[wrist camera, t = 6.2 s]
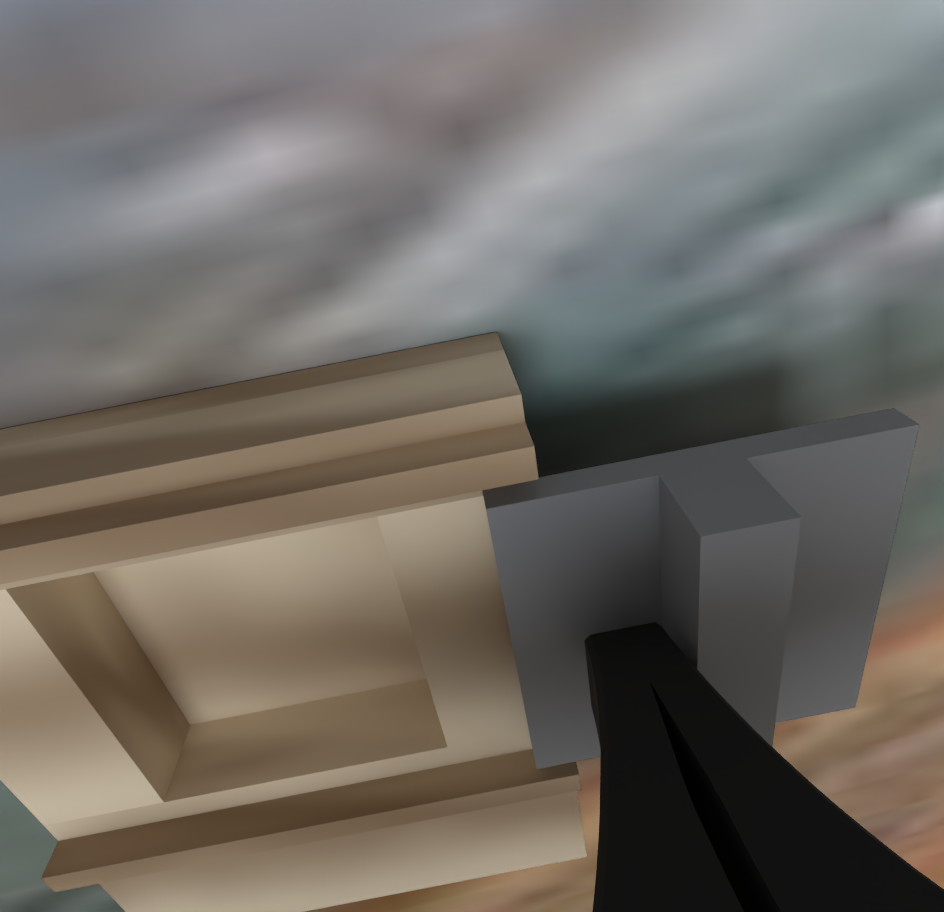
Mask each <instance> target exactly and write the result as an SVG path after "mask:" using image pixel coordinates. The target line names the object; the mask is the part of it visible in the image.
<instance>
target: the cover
mask: <svg viewBox="0 0 944 912" xmlns="http://www.w3.org/2000/svg"><path fill="white" fill-rule="evenodd" d="M918 429H919V424H918V423H916V422H915V421H913V420H912V419H910V418H908V417H907V416H905V415H904V414H902V413H901V412H899V411H897V410H896V409H894V408H892V409H887V410H882V411H877V412H871V413H866V414H861V415H856V416H851V417H846V418H841V419H836V420H830V421H825V422H820V423H815V424H810V425H805V426H800V427H795V428H790V429H784V430H779V431H774V432H769V433H764V434H759V435H754V436H749V437H743V438H738V439H733V440H728V441H723V442H718V443H713V444H708V445H703V446H697V447H692V448H687V449H682V450H677V451H672V452H667V453H662V454H656V455H651V456H646V457H641V458H636V459H631V460H626V461H621V462H616V463H610V464H605V465H600V466H595V467H590V468H585V469H580V470H575V471H569V472H564V473H559V474H554V475H549V476H544V477H539V479H537V480H532V481H527V482H522V483H517V484H512V485H507V486H502V487H497V488H491V489H486V490H482V492H483V497H484V502H485V507H486V512H487V517H488V522H489V528H490V533H491V538H492V543H493V548H494V553H495V559H496V564H497V569H498V574H499V579H500V584H501V589H502V595H503V600H504V605H505V610H506V615H507V620H508V626H509V631H510V636H511V641H512V646H513V651H514V656H515V662H516V667H517V672H518V677H519V682H520V687H521V693H522V698H523V703H524V708H525V713H526V718H527V724H528V729H529V734H530V739H531V744H532V749H533V754H534V759H535V764H536V769H540V768H545V767H550V766H556V765H561V764H566V763H571V762H576V761H581V760H587V759H592V758H597V757H601V751H600V743H599V738H598V733H597V728H596V723H595V719H594V715H593V711H592V707H591V698H590V688H589V679H588V670H587V661H586V652H585V642H584V640H585V639H586V638H587V637H588V636H589V635H591V634H596V633H601V632H606V631H612V630H617V629H622V628H627V627H632V626H637V625H642V624H648V623H653V622H656V623H657V624H659V625H661V626H662V628H663V629H664V630H665V631H666V633H667V634H668V635H669V636H670V638H671V639H672V640H673V641H674V643H675V644H676V645H677V646H678V648H679V649H680V650H681V651H682V652H683V653H684V655H685V656H686V657H687V658H688V659H689V660H690V662H691V663H692V664H693V665H694V666H695V667H696V669H697V670H698V671H699V672H700V673H701V674H702V675H703V676H704V677H705V679H706V680H707V681H708V682H709V683H710V684H711V685H712V686H713V687H714V688H715V690H716V691H717V692H718V693H719V694H720V695H721V696H722V697H723V698H724V699H725V700H726V701H727V702H728V703H729V704H730V705H731V706H732V707H733V708H734V709H735V710H736V711H737V712H738V714H739V715H740V716H741V717H742V718H743V719H744V720H745V721H746V722H747V723H748V724H749V725H750V726H751V727H752V728H753V729H754V730H755V731H756V732H757V733H758V734H759V735H760V736H761V737H762V738H763V739H764V740H765V741H766V742H767V743H768V744H770V745H771V746H772V744H773V736H774V728H775V723H777V722H782V721H788V720H793V719H798V718H803V717H808V716H813V715H819V714H824V713H829V712H834V711H839V710H844V709H849V708H855V706H856V702H857V697H858V693H859V688H860V684H861V680H862V675H863V671H864V666H865V662H866V658H867V653H868V649H869V644H870V640H871V636H872V631H873V627H874V622H875V618H876V614H877V609H878V605H879V600H880V596H881V592H882V587H883V583H884V578H885V574H886V570H887V565H888V561H889V556H890V552H891V548H892V543H893V539H894V534H895V530H896V526H897V521H898V517H899V512H900V508H901V504H902V499H903V495H904V490H905V486H906V482H907V477H908V473H909V468H910V464H911V460H912V455H913V451H914V446H915V442H916V438H917V433H918Z"/></svg>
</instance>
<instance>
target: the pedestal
mask: <svg viewBox="0 0 944 912" xmlns="http://www.w3.org/2000/svg"><path fill="white" fill-rule="evenodd" d="M537 479H539V477H538V470H537V462H536V455H535V448H534V444H533V441H532V439H531V436H530V433H529V431H528V428H527V425H526V423H525V417H524V409H523V402H522V395H521V392H520V390H519V387H518V385H517V382H516V379H515V377H514V374H513V372H512V369H511V367H510V364H509V362H508V359H507V357H506V354H505V352H504V349H503V347H502V344H501V342H500V339H499V336H498V334H497V332H494V333H489V334H484V335H479V336H473V337H468V338H463V339H458V340H453V341H448V342H443V343H438V344H433V345H428V346H422V347H417V348H412V349H407V350H402V351H397V352H392V353H387V354H382V355H377V356H372V357H366V358H361V359H356V360H351V361H346V362H341V363H336V364H331V365H326V366H321V367H315V368H310V369H305V370H300V371H295V372H290V373H285V374H280V375H275V376H270V377H264V378H259V379H254V380H249V381H244V382H239V383H234V384H229V385H224V386H219V387H214V388H208V389H203V390H198V391H193V392H188V393H183V394H178V395H173V396H168V397H163V398H157V399H152V400H147V401H142V402H137V403H132V404H127V405H122V406H117V407H112V408H106V409H101V410H96V411H91V412H86V413H81V414H76V415H71V416H66V417H61V418H55V419H50V420H45V421H40V422H35V423H30V424H25V425H20V426H15V427H10V428H5V429H0V780H1V781H2V782H3V783H4V784H5V785H6V786H7V787H8V788H9V789H10V790H11V791H12V793H13V794H14V795H15V796H16V797H17V798H18V799H19V800H20V801H21V802H22V803H23V804H24V805H25V806H26V807H27V808H28V809H29V810H30V811H31V813H32V814H33V815H34V816H35V817H36V818H37V819H38V820H39V821H40V822H41V823H42V824H43V825H44V826H45V827H46V828H47V829H48V830H49V832H50V833H51V834H52V835H53V836H54V837H55V838H56V839H57V840H58V843H57V845H56V847H55V850H54V852H53V854H52V856H51V858H50V860H49V863H48V865H47V867H46V869H45V871H44V873H43V876H42V878H41V879H42V880H43V881H44V882H45V883H46V884H47V885H48V886H49V887H50V888H51V889H52V890H53V891H54V892H58V891H63V890H68V889H74V888H79V887H84V886H89V885H94V884H100V885H101V886H102V887H103V888H104V890H105V891H106V892H107V893H108V894H109V895H110V896H111V897H112V898H113V899H114V900H115V901H116V902H117V903H118V904H119V905H120V906H121V907H122V909H123V910H124V911H125V912H305V911H310V910H315V909H320V908H325V907H330V906H336V905H341V904H346V903H351V902H356V901H361V900H367V899H372V898H377V897H382V896H387V895H392V894H398V893H403V892H408V891H413V890H418V889H423V888H429V887H434V886H439V885H444V884H449V883H454V882H460V881H465V880H470V879H475V878H480V877H485V876H491V875H496V874H501V873H506V872H511V871H516V870H522V869H527V868H532V867H537V866H542V865H547V864H553V863H558V862H563V861H568V860H573V859H578V858H584V857H587V855H586V848H585V841H584V834H583V827H582V820H581V812H580V805H579V798H578V791H579V790H581V786H580V778H579V773H578V769H577V765H576V762H571V763H566V764H561V765H556V766H550V767H545V768H540V769H536V764H535V759H534V754H533V749H532V744H531V739H530V734H529V729H528V724H527V718H526V713H525V708H524V703H523V698H522V693H521V687H520V682H519V677H518V672H517V667H516V662H515V656H514V651H513V646H512V641H511V636H510V631H509V626H508V620H507V615H506V610H505V605H504V600H503V595H502V589H501V584H500V579H499V574H498V569H497V564H496V559H495V553H494V548H493V543H492V538H491V533H490V528H489V522H488V517H487V512H486V507H485V502H484V497H483V492H482V490H486V489H491V488H497V487H502V486H507V485H512V484H517V483H522V482H527V481H532V480H537Z"/></svg>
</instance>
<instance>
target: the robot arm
mask: <svg viewBox="0 0 944 912" xmlns="http://www.w3.org/2000/svg"><path fill="white" fill-rule="evenodd" d="M584 642H585V652H586V661H587V670H588V679H589V688H590V698H591V707H592V711H593V715H594V719H595V723H596V728H597V733H598V738H599V743H600V751H601V777H600V823H599V842H598V857H597V871H596V884H595V894H594V904H593V912H944V889H942V888H941V887H940V886H938V885H937V884H935V883H934V882H933V881H931V880H930V879H929V878H927V877H926V876H925V875H923V874H922V873H920V872H919V871H918V870H916V869H915V868H914V867H912V866H911V865H910V864H908V863H907V862H906V861H905V860H903V859H902V858H901V857H900V856H898V855H897V854H896V853H894V852H893V851H892V850H891V849H889V848H888V847H887V846H886V845H884V844H883V843H882V842H881V841H879V840H878V839H877V838H876V837H874V836H873V835H872V834H871V833H869V832H868V831H867V830H866V829H864V828H863V827H862V826H861V825H860V824H858V823H857V822H856V821H855V820H854V819H852V818H851V817H850V816H849V815H848V814H846V813H845V812H844V811H843V810H842V809H840V808H839V807H838V806H837V805H836V804H834V803H833V802H832V801H831V800H830V799H829V798H827V797H826V796H825V795H824V794H823V793H822V792H821V791H819V790H818V789H817V788H816V787H815V786H814V785H813V784H812V783H810V782H809V781H808V780H807V779H806V778H805V777H804V776H803V775H802V774H800V773H799V772H798V771H797V770H796V769H795V768H794V767H793V766H792V765H791V764H790V763H789V762H788V761H786V760H785V759H784V758H783V757H782V756H781V755H780V754H779V753H778V752H777V751H776V750H775V749H774V748H773V747H772V746H771V745H770V744H768V743H767V742H766V741H765V740H764V739H763V738H762V737H761V736H760V735H759V734H758V733H757V732H756V731H755V730H754V729H753V728H752V727H751V726H750V725H749V724H748V723H747V722H746V721H745V720H744V719H743V718H742V717H741V716H740V715H739V714H738V712H737V711H736V710H735V709H734V708H733V707H732V706H731V705H730V704H729V703H728V702H727V701H726V700H725V699H724V698H723V697H722V696H721V695H720V694H719V693H718V692H717V691H716V690H715V688H714V687H713V686H712V685H711V684H710V683H709V682H708V681H707V680H706V679H705V677H704V676H703V675H702V674H701V673H700V672H699V671H698V670H697V669H696V667H695V666H694V665H693V664H692V663H691V662H690V660H689V659H688V658H687V657H686V656H685V655H684V653H683V652H682V651H681V650H680V649H679V648H678V646H677V645H676V644H675V643H674V641H673V640H672V639H671V638H670V636H669V635H668V634H667V633H666V631H665V630H664V629H663V628H662V626H661V625H659V624H657V623H656V622H653V623H648V624H642V625H637V626H632V627H627V628H622V629H617V630H612V631H606V632H601V633H596V634H591V635H589V636H588V637H587V638H586V639H585V640H584Z"/></svg>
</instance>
